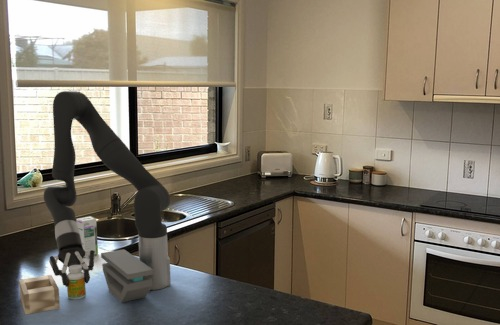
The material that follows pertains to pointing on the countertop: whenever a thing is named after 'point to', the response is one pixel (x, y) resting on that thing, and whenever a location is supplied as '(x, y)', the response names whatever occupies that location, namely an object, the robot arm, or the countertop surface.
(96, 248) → the syrup box
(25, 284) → the post socket
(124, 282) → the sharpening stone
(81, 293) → the supplement bottle
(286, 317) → the countertop surface
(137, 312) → the countertop surface
